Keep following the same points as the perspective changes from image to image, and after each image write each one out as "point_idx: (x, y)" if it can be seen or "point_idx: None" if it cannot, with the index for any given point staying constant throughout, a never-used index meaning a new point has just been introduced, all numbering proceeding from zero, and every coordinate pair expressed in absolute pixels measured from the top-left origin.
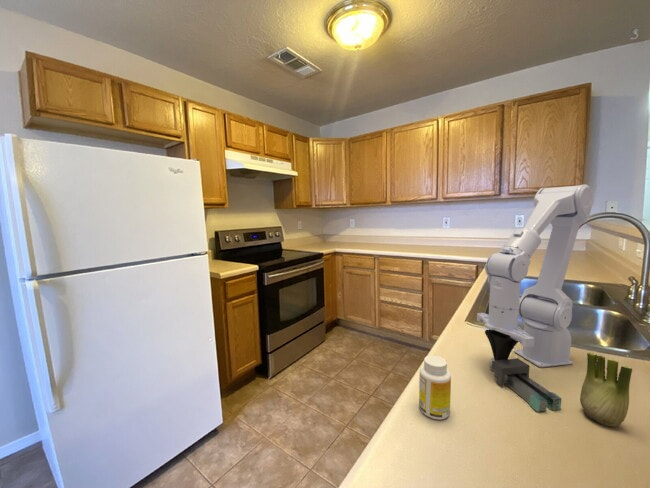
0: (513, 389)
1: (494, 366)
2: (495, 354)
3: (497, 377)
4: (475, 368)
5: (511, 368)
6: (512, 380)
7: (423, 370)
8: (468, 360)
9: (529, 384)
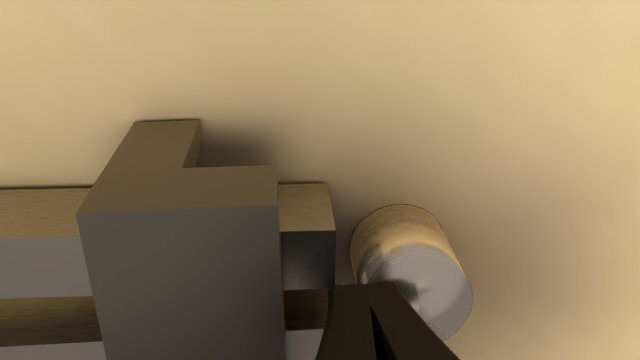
0: (70, 192)
1: (226, 184)
2: (380, 331)
3: (181, 144)
4: (476, 87)
5: (102, 319)
6: (63, 232)
7: None
8: (624, 110)
9: (19, 334)
